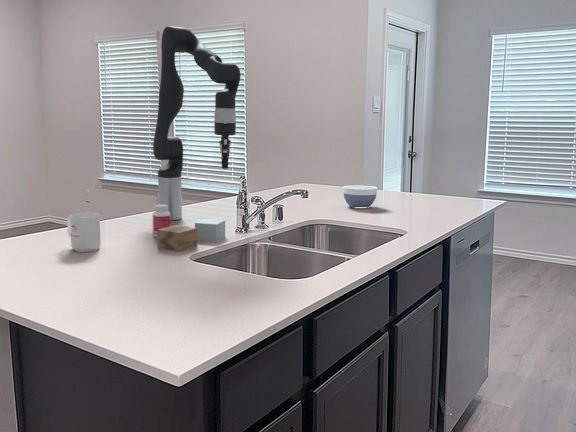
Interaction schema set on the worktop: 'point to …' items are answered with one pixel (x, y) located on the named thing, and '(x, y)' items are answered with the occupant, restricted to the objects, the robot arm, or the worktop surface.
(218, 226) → the grey block
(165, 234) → the walnut block
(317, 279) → the worktop surface
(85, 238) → the mug
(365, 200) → the bowl
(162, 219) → the pill bottle
